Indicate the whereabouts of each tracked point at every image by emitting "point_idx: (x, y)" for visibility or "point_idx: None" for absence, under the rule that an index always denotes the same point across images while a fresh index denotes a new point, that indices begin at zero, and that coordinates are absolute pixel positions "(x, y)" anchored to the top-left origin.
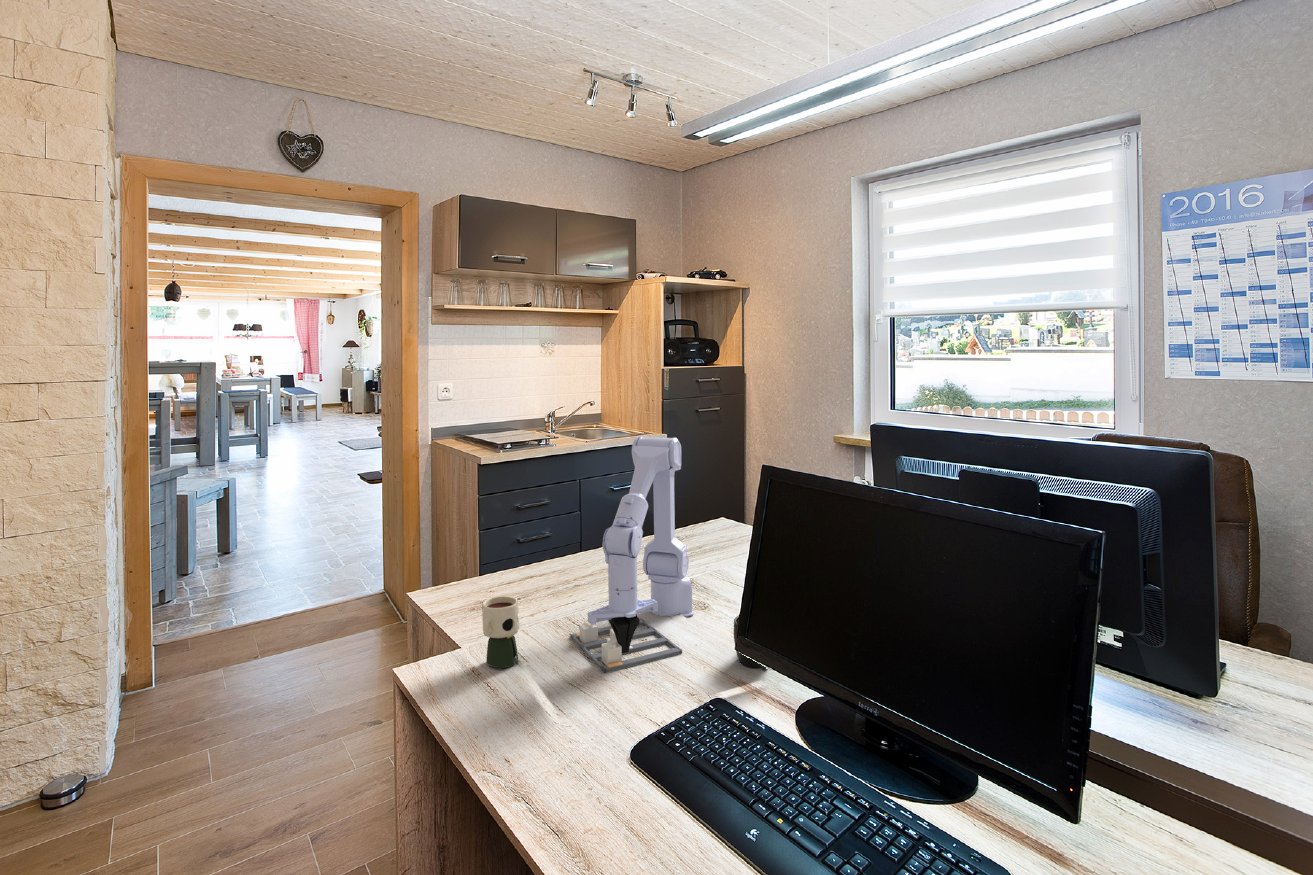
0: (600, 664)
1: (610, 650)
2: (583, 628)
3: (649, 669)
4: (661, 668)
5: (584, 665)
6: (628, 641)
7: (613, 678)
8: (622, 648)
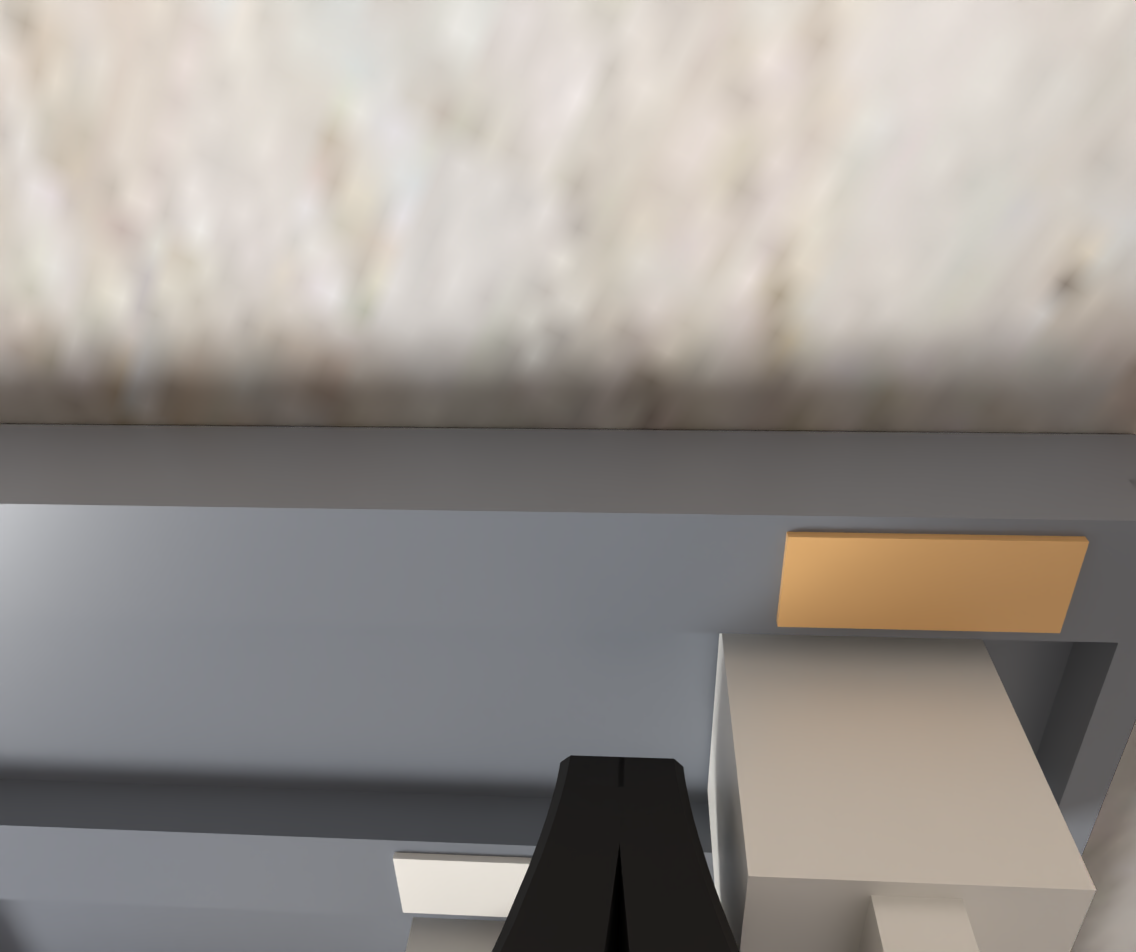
0: (1125, 684)
1: (1016, 857)
2: None
3: (329, 354)
4: (124, 291)
5: None
6: (573, 940)
7: (1004, 366)
8: (695, 840)
